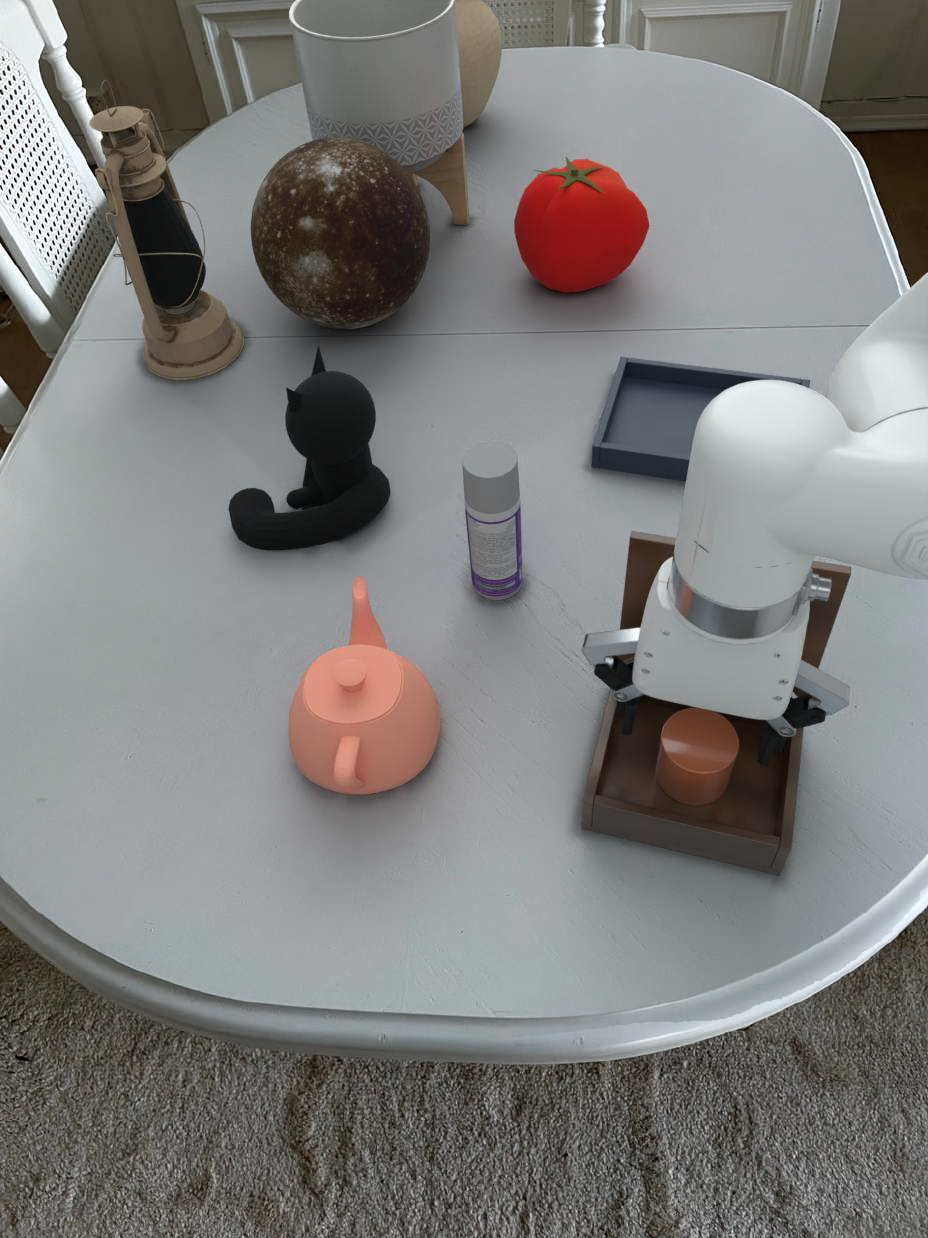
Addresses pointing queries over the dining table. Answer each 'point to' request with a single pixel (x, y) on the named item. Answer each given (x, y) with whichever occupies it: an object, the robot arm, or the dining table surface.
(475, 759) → the dining table surface
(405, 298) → the decorative sphere
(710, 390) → the tray
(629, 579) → the lid
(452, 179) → the planter
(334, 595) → the dining table surface
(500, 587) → the container
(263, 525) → the figurine
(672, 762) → the orange cylinder puck
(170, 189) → the lantern
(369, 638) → the teapot
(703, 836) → the brown wooden shallow box
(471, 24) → the vase
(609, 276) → the tomato
